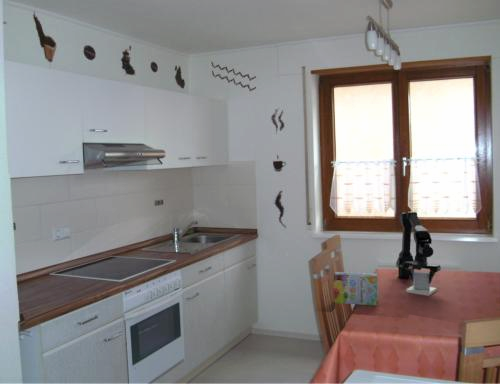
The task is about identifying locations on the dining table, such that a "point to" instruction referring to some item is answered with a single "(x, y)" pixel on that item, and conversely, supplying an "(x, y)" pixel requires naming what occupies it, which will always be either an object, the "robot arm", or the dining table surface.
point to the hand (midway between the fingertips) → (421, 282)
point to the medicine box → (421, 280)
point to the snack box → (356, 288)
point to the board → (421, 291)
